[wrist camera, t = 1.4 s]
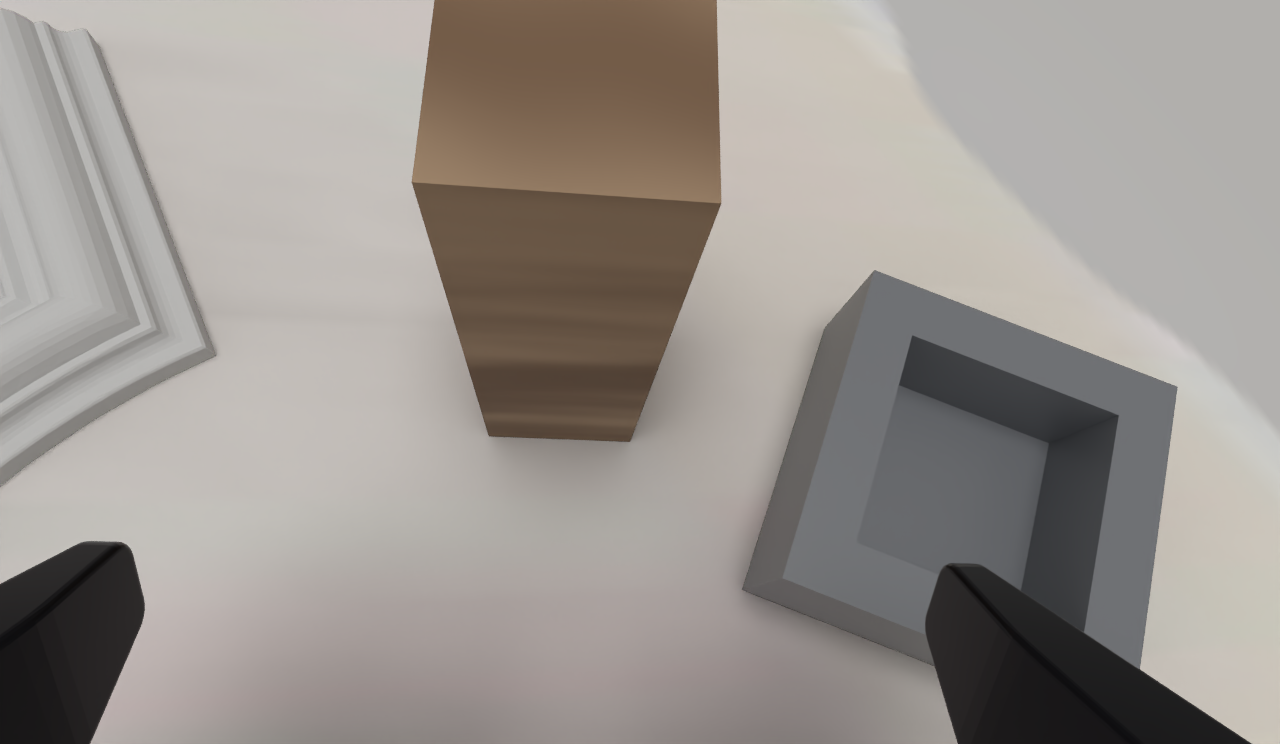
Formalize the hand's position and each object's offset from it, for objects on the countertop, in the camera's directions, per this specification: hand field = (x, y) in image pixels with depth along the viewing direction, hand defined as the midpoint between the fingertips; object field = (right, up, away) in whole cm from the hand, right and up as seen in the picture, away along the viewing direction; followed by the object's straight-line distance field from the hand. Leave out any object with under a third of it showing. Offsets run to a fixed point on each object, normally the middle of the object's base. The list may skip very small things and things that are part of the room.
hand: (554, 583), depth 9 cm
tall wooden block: (-1, +2, +14) cm, 15 cm away
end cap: (+9, -1, +14) cm, 17 cm away
